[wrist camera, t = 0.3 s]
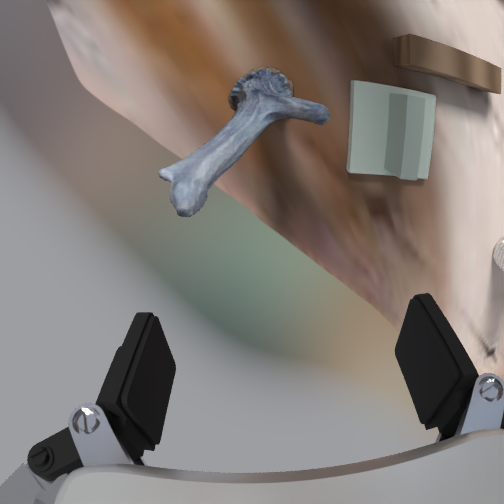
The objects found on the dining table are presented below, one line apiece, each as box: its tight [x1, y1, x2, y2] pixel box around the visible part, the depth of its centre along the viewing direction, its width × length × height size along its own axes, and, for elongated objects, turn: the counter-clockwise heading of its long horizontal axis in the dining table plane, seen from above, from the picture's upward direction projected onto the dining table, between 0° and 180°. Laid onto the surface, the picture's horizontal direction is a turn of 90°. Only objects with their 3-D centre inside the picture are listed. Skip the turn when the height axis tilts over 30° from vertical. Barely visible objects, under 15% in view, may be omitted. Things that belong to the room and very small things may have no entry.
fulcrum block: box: [346, 80, 436, 180], centre depth 32 cm, size 12×12×6 cm
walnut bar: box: [393, 34, 501, 94], centre depth 27 cm, size 16×4×5 cm, turn 91°
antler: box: [158, 67, 330, 217], centre depth 23 cm, size 12×8×25 cm
